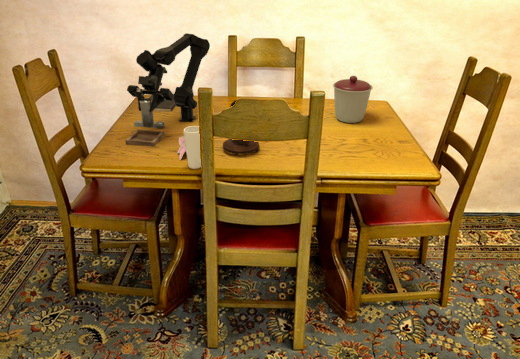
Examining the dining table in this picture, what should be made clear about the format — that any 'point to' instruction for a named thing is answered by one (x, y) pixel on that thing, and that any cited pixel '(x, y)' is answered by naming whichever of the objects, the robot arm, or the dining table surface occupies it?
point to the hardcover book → (165, 105)
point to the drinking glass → (192, 146)
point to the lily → (182, 148)
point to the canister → (351, 99)
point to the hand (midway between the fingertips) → (145, 111)
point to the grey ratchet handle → (156, 125)
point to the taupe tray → (145, 138)
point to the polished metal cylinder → (146, 112)
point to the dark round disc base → (240, 145)
